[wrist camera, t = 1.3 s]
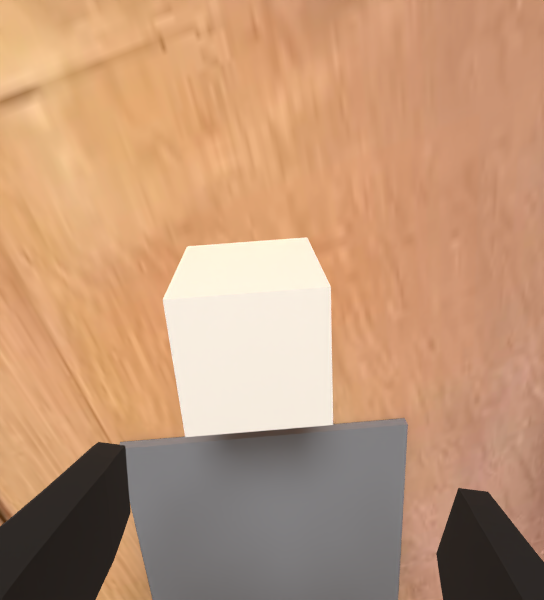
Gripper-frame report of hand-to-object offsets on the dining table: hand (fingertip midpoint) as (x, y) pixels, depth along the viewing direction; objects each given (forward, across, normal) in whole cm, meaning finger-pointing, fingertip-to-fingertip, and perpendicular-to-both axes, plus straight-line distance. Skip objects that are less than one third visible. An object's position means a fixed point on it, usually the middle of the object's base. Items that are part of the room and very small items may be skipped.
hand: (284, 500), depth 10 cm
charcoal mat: (+10, 0, +14) cm, 17 cm away
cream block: (+11, +2, 0) cm, 11 cm away
